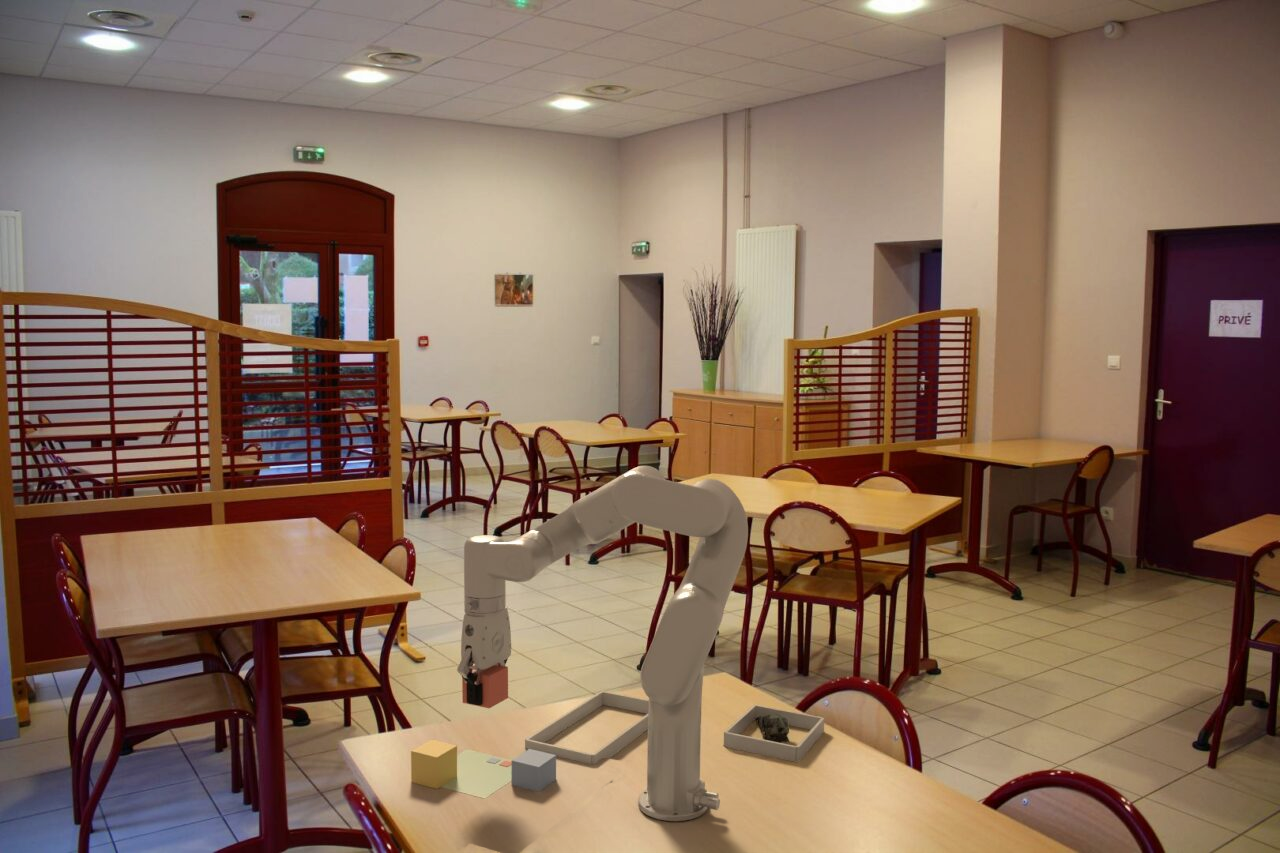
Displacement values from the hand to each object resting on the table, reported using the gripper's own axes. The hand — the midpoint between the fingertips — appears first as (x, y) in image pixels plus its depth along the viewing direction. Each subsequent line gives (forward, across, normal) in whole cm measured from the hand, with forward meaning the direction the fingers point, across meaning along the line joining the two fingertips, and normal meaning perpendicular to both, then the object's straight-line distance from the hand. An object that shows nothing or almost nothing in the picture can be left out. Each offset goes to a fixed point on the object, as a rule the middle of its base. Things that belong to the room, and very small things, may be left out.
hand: (485, 697), depth 186 cm
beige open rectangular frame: (+17, +32, -6) cm, 37 cm away
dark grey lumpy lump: (+18, +51, -38) cm, 66 cm away
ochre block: (+16, -4, +9) cm, 19 cm away
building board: (+17, +2, +4) cm, 18 cm away
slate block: (+18, +4, -8) cm, 20 cm away
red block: (+1, 0, 0) cm, 1 cm away
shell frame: (+18, +48, -40) cm, 65 cm away
